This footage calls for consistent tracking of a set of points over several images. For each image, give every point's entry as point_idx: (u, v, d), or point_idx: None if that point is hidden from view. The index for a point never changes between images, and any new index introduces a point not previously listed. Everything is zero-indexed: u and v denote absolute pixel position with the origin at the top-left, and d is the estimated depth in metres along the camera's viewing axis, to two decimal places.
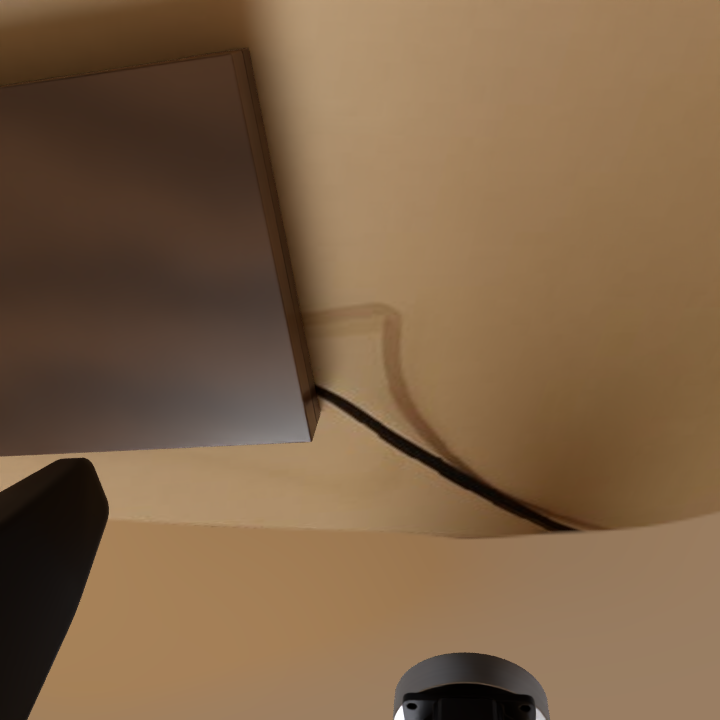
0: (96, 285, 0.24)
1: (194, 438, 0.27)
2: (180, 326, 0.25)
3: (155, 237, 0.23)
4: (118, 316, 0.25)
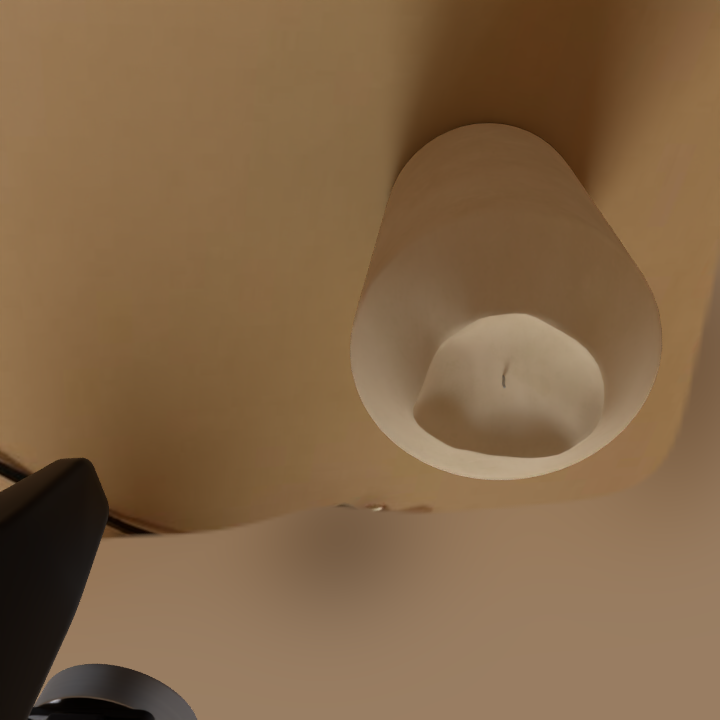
0: None
1: None
2: None
3: None
4: None
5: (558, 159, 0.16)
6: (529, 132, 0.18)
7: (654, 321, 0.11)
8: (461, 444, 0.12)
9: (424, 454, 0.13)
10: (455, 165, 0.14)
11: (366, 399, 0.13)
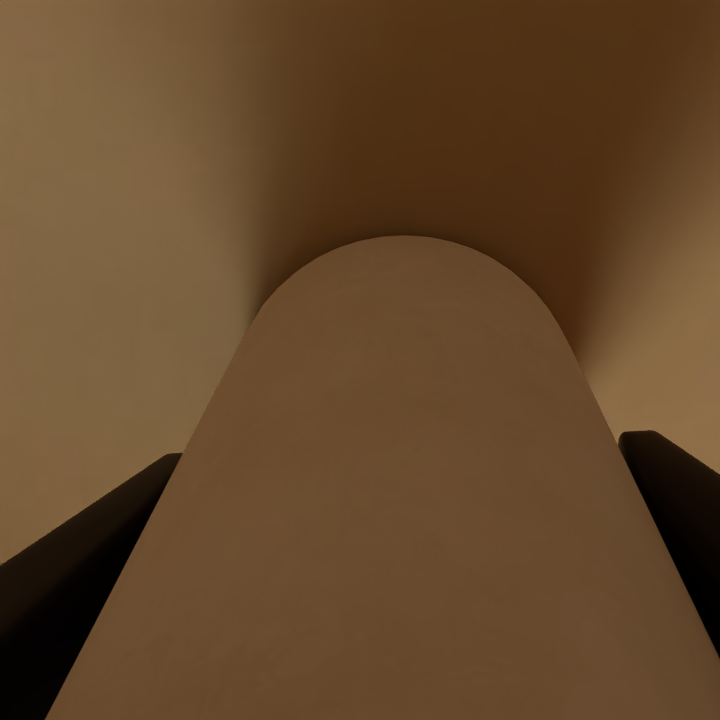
0: None
1: None
2: None
3: None
4: None
5: (533, 328, 0.08)
6: (477, 255, 0.10)
7: None
8: None
9: None
10: (298, 393, 0.06)
11: None
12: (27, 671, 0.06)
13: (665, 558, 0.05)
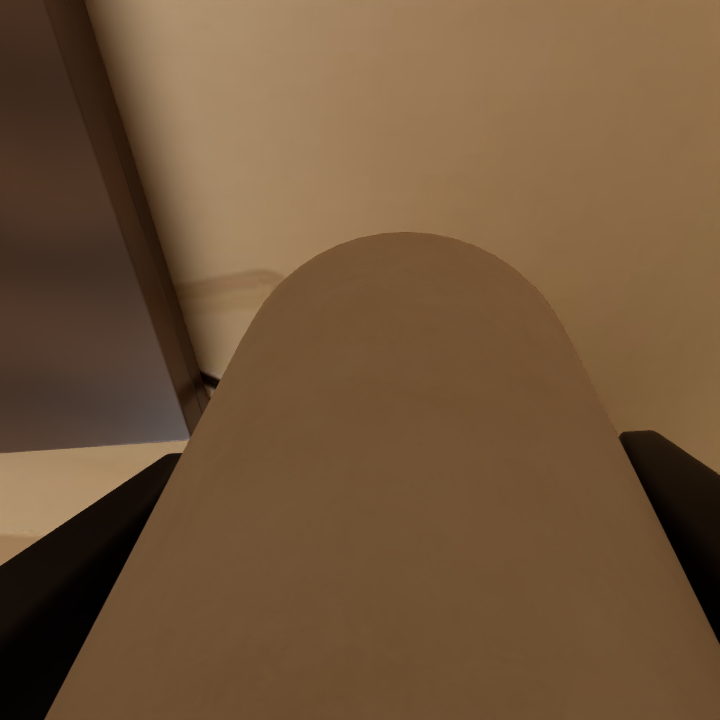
0: None
1: (55, 438, 0.23)
2: (16, 301, 0.20)
3: None
4: None
5: (535, 325, 0.08)
6: (478, 252, 0.10)
7: None
8: None
9: None
10: (300, 389, 0.06)
11: None
12: (28, 671, 0.06)
13: (669, 554, 0.05)
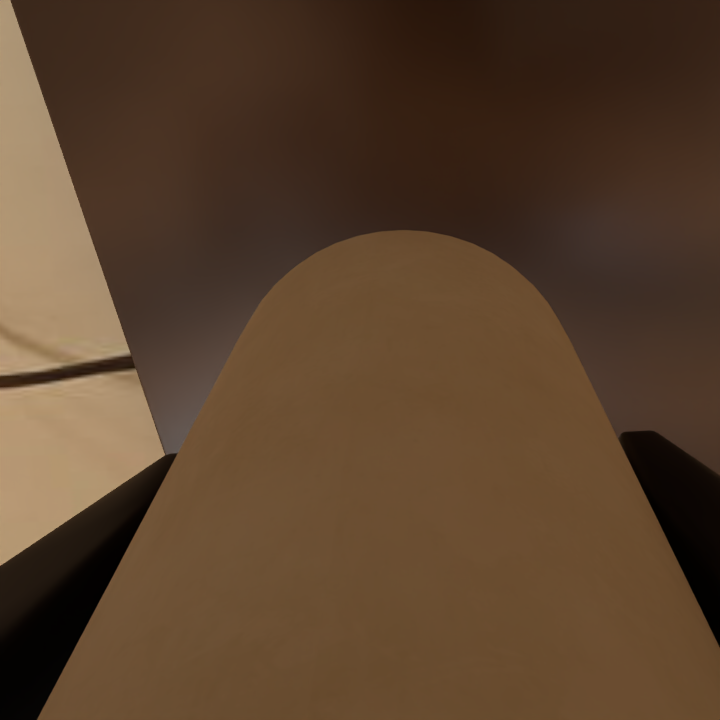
0: None
1: None
2: None
3: (562, 186, 0.13)
4: None
5: (533, 322, 0.08)
6: (476, 250, 0.10)
7: None
8: None
9: None
10: (296, 386, 0.06)
11: None
12: (28, 671, 0.06)
13: (667, 551, 0.05)
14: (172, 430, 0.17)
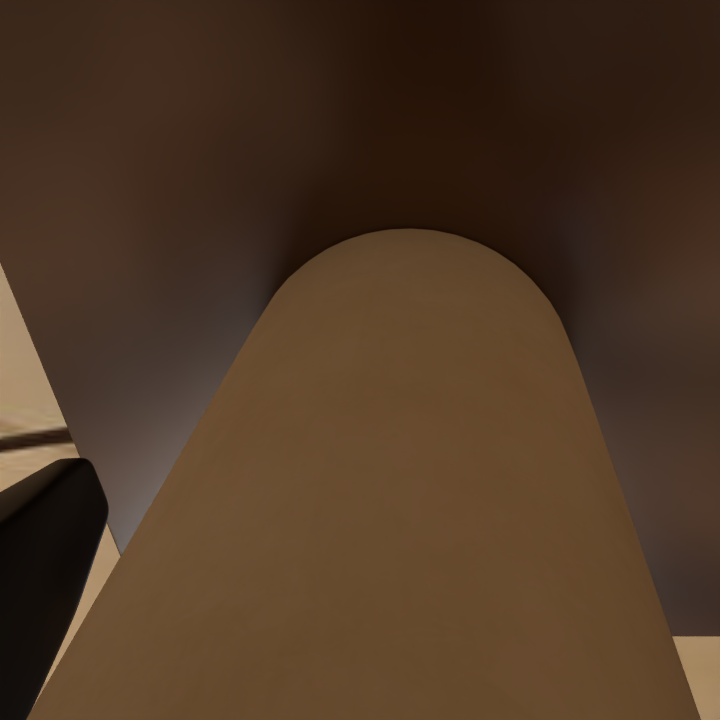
0: None
1: None
2: None
3: (599, 249, 0.10)
4: None
5: (526, 322, 0.08)
6: (480, 249, 0.10)
7: None
8: None
9: None
10: (294, 381, 0.07)
11: None
12: None
13: (626, 542, 0.06)
14: (124, 522, 0.14)
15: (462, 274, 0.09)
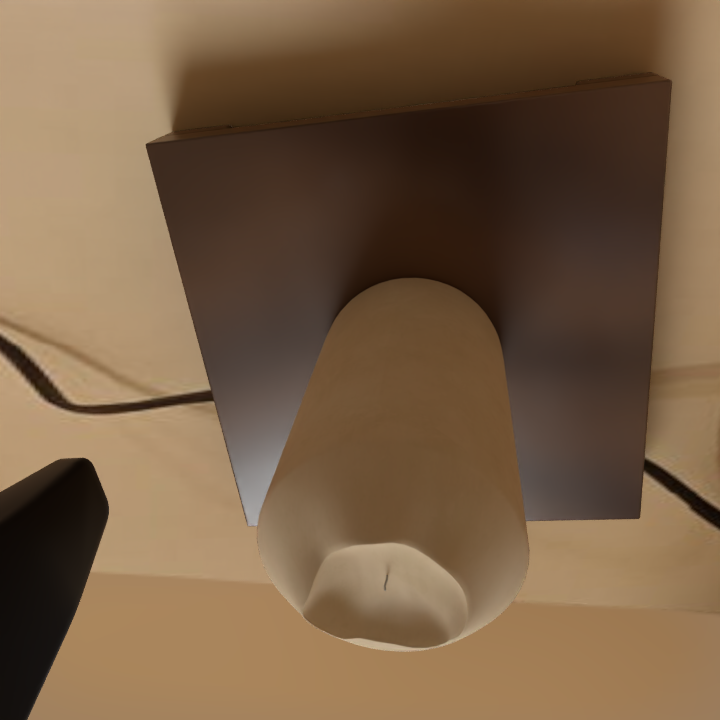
0: None
1: None
2: (516, 389, 0.21)
3: (514, 290, 0.20)
4: None
5: (469, 328, 0.18)
6: (450, 289, 0.19)
7: (519, 531, 0.13)
8: (351, 633, 0.13)
9: None
10: (365, 351, 0.16)
11: (273, 581, 0.14)
12: None
13: (497, 412, 0.15)
14: (238, 448, 0.24)
15: (439, 304, 0.18)
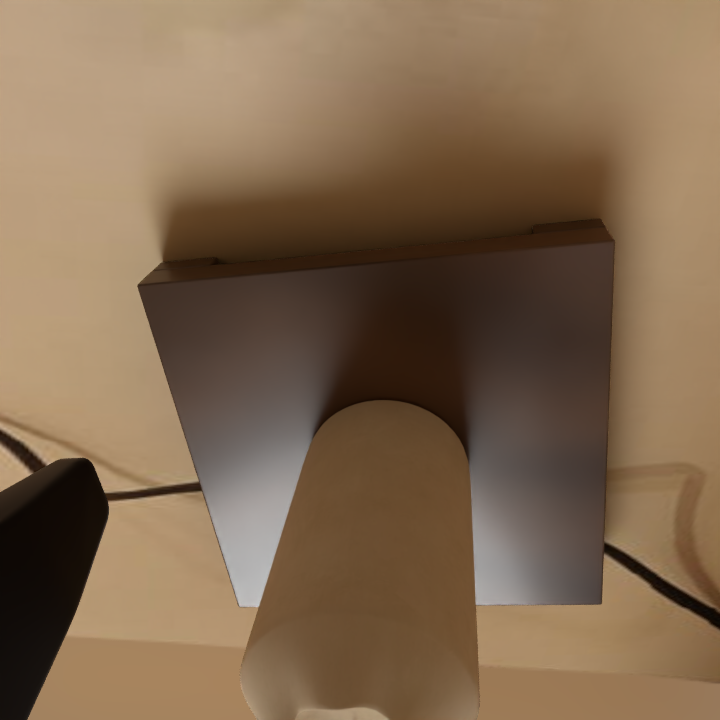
0: None
1: None
2: (483, 494, 0.23)
3: (478, 411, 0.21)
4: None
5: (434, 459, 0.19)
6: (419, 413, 0.21)
7: (469, 683, 0.15)
8: None
9: None
10: (337, 495, 0.18)
11: None
12: None
13: (455, 556, 0.17)
14: (228, 541, 0.25)
15: (408, 434, 0.20)
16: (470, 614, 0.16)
